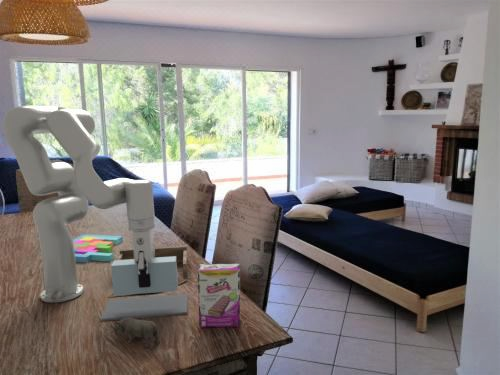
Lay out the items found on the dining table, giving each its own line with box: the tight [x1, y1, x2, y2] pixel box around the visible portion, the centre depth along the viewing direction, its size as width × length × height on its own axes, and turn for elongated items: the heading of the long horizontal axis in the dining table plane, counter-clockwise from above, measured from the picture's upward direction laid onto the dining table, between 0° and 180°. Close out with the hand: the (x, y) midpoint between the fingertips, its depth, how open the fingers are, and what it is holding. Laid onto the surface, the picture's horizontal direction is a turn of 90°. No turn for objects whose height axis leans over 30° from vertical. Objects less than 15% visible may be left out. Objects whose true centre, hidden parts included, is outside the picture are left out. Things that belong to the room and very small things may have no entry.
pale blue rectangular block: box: [110, 256, 179, 297], centre depth 117 cm, size 4×18×9 cm, turn 98°
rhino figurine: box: [110, 317, 161, 348], centre depth 101 cm, size 4×14×6 cm, turn 71°
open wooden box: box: [116, 245, 188, 278], centre depth 147 cm, size 17×25×6 cm
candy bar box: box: [197, 263, 241, 328], centre depth 107 cm, size 11×5×16 cm, turn 92°
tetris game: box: [73, 233, 124, 263], centre depth 171 cm, size 28×3×28 cm
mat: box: [99, 293, 189, 322], centre depth 118 cm, size 12×24×1 cm, turn 98°
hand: (145, 282), depth 117 cm, fingers closed on pale blue rectangular block, 4 cm apart
